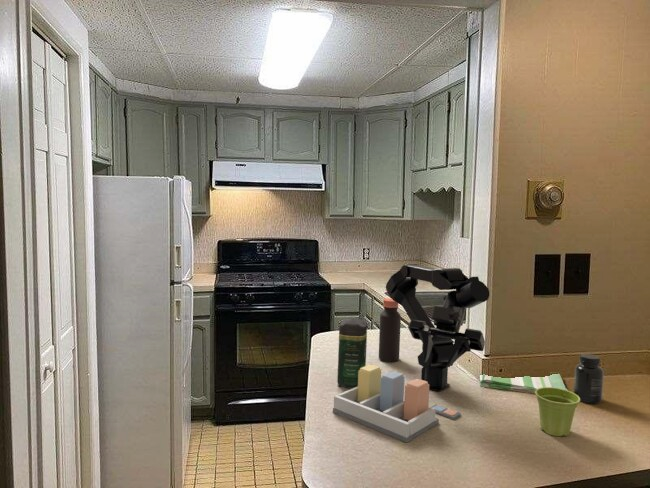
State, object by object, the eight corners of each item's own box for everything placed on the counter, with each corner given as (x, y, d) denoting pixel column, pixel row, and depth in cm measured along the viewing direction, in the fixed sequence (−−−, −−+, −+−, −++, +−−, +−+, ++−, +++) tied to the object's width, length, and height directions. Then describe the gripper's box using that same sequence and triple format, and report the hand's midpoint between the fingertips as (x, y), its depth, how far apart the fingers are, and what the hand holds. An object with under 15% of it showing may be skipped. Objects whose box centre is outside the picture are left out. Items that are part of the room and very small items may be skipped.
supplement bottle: (600, 397, 135) (603, 354, 134) (602, 406, 129) (606, 362, 128) (572, 392, 138) (575, 351, 137) (573, 401, 132) (576, 357, 131)
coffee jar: (363, 390, 136) (366, 324, 134) (335, 388, 137) (337, 322, 136) (366, 378, 146) (368, 316, 144) (339, 375, 147) (341, 314, 145)
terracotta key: (427, 416, 117) (429, 381, 116) (416, 423, 114) (418, 387, 113) (415, 412, 120) (416, 377, 119) (403, 418, 116) (405, 383, 115)
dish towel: (569, 400, 134) (570, 390, 134) (479, 389, 140) (480, 379, 140) (558, 378, 151) (559, 369, 151) (478, 369, 158) (479, 360, 157)
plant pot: (575, 444, 108) (578, 406, 107) (529, 433, 113) (531, 396, 112) (579, 428, 116) (582, 392, 115) (536, 418, 121) (538, 384, 120)
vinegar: (402, 358, 164) (404, 299, 162) (393, 364, 159) (396, 302, 157) (383, 354, 168) (386, 297, 166) (374, 360, 162) (377, 300, 160)
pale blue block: (403, 407, 122) (404, 374, 121) (391, 414, 118) (392, 379, 118) (391, 403, 124) (392, 370, 124) (379, 409, 121) (380, 375, 120)
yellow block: (380, 399, 127) (381, 367, 126) (368, 405, 123) (369, 371, 122) (369, 395, 129) (370, 363, 128) (357, 401, 125) (358, 368, 125)
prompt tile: (460, 415, 122) (460, 412, 122) (453, 419, 119) (453, 416, 119) (435, 406, 126) (435, 403, 126) (428, 410, 124) (428, 407, 124)
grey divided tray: (438, 422, 117) (439, 406, 117) (406, 442, 107) (407, 424, 107) (366, 396, 132) (367, 382, 131) (332, 411, 122) (333, 396, 121)
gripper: (412, 289, 129) (392, 339, 121) (484, 298, 119) (468, 354, 111) (422, 313, 137) (404, 362, 128) (491, 323, 127) (476, 378, 118)
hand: (436, 363), depth 121 cm, fingers open, 6 cm apart
